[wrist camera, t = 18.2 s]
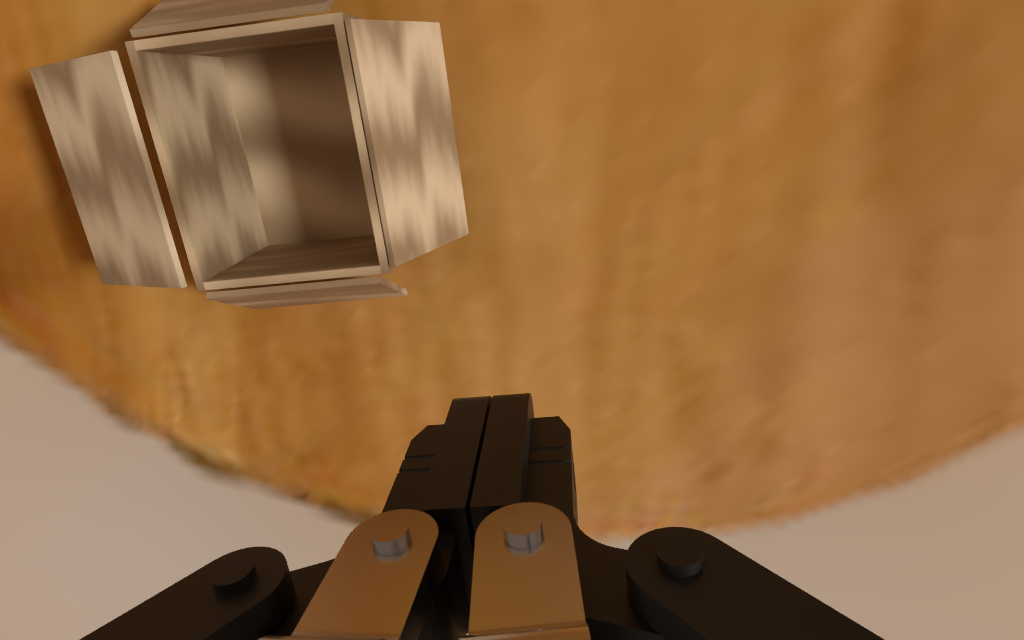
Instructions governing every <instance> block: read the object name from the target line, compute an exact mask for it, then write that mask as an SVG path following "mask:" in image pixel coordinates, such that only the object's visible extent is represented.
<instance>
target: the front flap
mask: <svg viewBox="0 0 1024 640" xmlns="http://www.w3.org/2000/svg"><path fill="white" fill-rule="evenodd" d="M29 70H30V73H31V76H32V79H33V82H34V85H35V88H36V91H37V94H38V97H39V99H40V102H41V105H42V108H43V111H44V114H45V117H46V120H47V123H48V126H49V129H50V131H51V134H52V137H53V140H54V143H55V146H56V149H57V152H58V155H59V158H60V161H61V164H62V166H63V169H64V172H65V175H66V178H67V181H68V184H69V187H70V190H71V193H72V196H73V198H74V201H75V204H76V207H77V210H78V213H79V216H80V219H81V222H82V225H83V228H84V231H85V233H86V236H87V239H88V242H89V245H90V248H91V251H92V254H93V257H94V260H95V263H96V265H97V268H98V271H99V274H100V277H101V280H102V283H103V284H114V285H130V286H147V287H164V288H184V287H187V284H186V281H185V278H184V274H183V271H182V267H181V264H180V261H179V257H178V254H177V251H176V247H175V244H174V241H173V237H172V234H171V231H170V227H169V224H168V220H167V217H166V214H165V210H164V207H163V204H162V200H161V197H160V194H159V190H158V187H157V183H156V180H155V177H154V173H153V170H152V167H151V163H150V160H149V157H148V153H147V150H146V146H145V143H144V140H143V136H142V133H141V130H140V126H139V123H138V120H137V116H136V113H135V110H134V106H133V103H132V99H131V96H130V93H129V89H128V86H127V83H126V79H125V76H124V73H123V69H122V66H121V62H120V59H119V56H118V52H117V51H106V52H102V53H98V54H93V55H89V56H84V57H80V58H76V59H71V60H67V61H62V62H58V63H54V64H49V65H45V66H40V67H36V68H32V69H29Z"/></svg>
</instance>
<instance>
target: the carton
mask: <svg viewBox="0 0 1024 640" xmlns="http://www.w3.org/2000/svg"><path fill="white" fill-rule="evenodd" d="M334 1H335V0H162V1H161V2H159V3H158V4H157V5H156V6H155V7H154V8H153V9H152V10H151V11H149V12H148V13H147V14H146V15H145V16H144V17H143V18H142V19H141V20H139V21H138V22H137V23H136V24H135V25H134V26H133V27H132V28H131V29H130V30H129V31H130V33H131V35H132V37H133V38H135V37H142V36H150V35H157V34H164V33H171V32H179V31H186V30H193V29H200V28H208V27H215V26H222V25H229V24H237V23H244V22H251V21H258V20H266V19H273V18H280V17H287V16H295V15H302V14H309V13H317V12H324V11H329V10H330V8H331V6H332V5H333V3H334ZM125 45H126V49H127V52H128V55H129V59H130V62H131V66H132V69H133V73H134V76H135V79H136V83H137V86H138V90H139V93H140V96H141V100H142V103H143V107H144V110H145V114H146V117H147V120H148V124H149V127H150V131H151V134H152V137H153V141H154V144H155V148H156V151H157V155H158V158H159V161H160V165H161V168H162V172H163V175H164V178H165V182H166V185H167V189H168V192H169V196H170V199H171V202H172V206H173V209H174V213H175V216H176V219H177V223H178V226H179V230H180V233H181V237H182V240H183V243H184V247H185V250H186V254H187V257H188V260H189V264H190V267H191V271H192V274H193V278H194V281H195V284H196V288H197V291H203V290H214V289H225V288H235V287H246V286H256V285H267V284H278V283H288V282H299V281H310V280H320V279H331V278H342V277H352V276H363V275H373V274H384V273H390V272H391V271H392V270H393V269H394V268H395V267H396V266H399V265H401V264H403V263H405V262H407V261H410V260H412V259H414V258H416V257H418V256H421V255H423V254H425V253H427V252H430V251H432V250H434V249H436V248H438V247H441V246H443V245H445V244H447V243H450V242H452V241H454V240H456V239H458V238H461V237H463V236H465V235H467V234H469V232H468V225H467V218H466V210H465V203H464V196H463V189H462V182H461V174H460V167H459V160H458V153H457V146H456V138H455V131H454V124H453V117H452V110H451V102H450V95H449V88H448V81H447V74H446V66H445V59H444V52H443V45H442V38H441V30H440V23H439V22H415V21H391V20H367V19H361V18H358V17H355V16H352V15H349V14H346V13H343V12H338V13H331V14H324V15H316V16H309V17H302V18H294V19H287V20H280V21H273V22H265V23H258V24H251V25H243V26H236V27H229V28H222V29H214V30H207V31H200V32H192V33H185V34H178V35H171V36H163V37H156V38H149V39H141V40H134V41H127V42H125ZM406 295H407V289H405V288H403V287H401V286H399V285H397V284H394V283H392V282H390V281H388V280H386V279H384V278H382V277H380V276H379V277H368V278H357V279H347V280H336V281H325V282H315V283H304V284H293V285H283V286H272V287H261V288H251V289H240V290H229V291H219V292H208V293H206V297H207V299H208V300H213V301H218V302H223V303H228V304H233V305H238V306H244V307H249V308H254V309H262V308H273V307H284V306H295V305H307V304H318V303H329V302H340V301H351V300H362V299H373V298H384V297H395V296H406Z"/></svg>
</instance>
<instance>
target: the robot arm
mask: <svg viewBox="0 0 1024 640" xmlns="http://www.w3.org/2000/svg"><path fill="white" fill-rule="evenodd" d="M466 633H468V635H466ZM80 640H884V639H882V638H881V637H879V636H877V635H876V634H874V633H873V632H871V631H869V630H868V629H866V628H864V627H863V626H861V625H859V624H858V623H856V622H854V621H853V620H851V619H849V618H848V617H846V616H844V615H843V614H841V613H839V612H838V611H836V610H834V609H833V608H831V607H829V606H828V605H826V604H824V603H823V602H821V601H820V600H818V599H816V598H814V597H813V596H811V595H810V594H808V593H806V592H805V591H803V590H801V589H800V588H798V587H796V586H795V585H793V584H791V583H790V582H788V581H786V580H785V579H783V578H781V577H780V576H778V575H777V574H775V573H773V572H772V571H770V570H768V569H767V568H765V567H763V566H762V565H760V564H758V563H757V562H755V561H753V560H752V559H750V558H748V557H746V556H745V555H743V554H742V553H740V552H738V551H737V550H735V549H733V548H732V547H730V546H729V545H727V544H725V543H723V542H722V541H720V540H719V539H717V538H715V537H713V536H711V535H709V534H707V533H705V532H702V531H699V530H695V529H691V528H684V527H666V528H660V529H655V530H653V531H650V532H647V533H645V534H643V535H641V536H640V537H639V538H637V539H636V540H635V541H634V542H633V543H632V544H631V545H630V547H629V549H628V550H624V549H619V548H614V547H610V546H607V545H604V544H601V543H598V542H597V541H595V540H593V539H591V538H590V537H588V536H587V535H585V534H584V533H583V532H582V531H581V530H580V529H579V527H578V514H577V495H576V484H575V474H574V463H573V453H572V442H571V432H570V429H569V427H568V426H567V425H566V424H565V423H564V422H563V421H562V419H561V418H560V417H559V416H556V417H542V418H534V412H533V403H532V397H531V394H530V393H525V394H511V395H497V396H493V397H491V396H485V397H471V398H458V399H453V401H452V403H451V406H450V409H449V412H448V415H447V418H446V421H445V424H442V425H428V426H427V427H425V428H424V429H423V430H422V431H421V432H420V433H419V434H418V435H417V436H416V437H414V438H413V439H412V440H411V442H410V445H409V447H408V450H407V452H406V455H405V460H403V462H402V464H401V467H400V469H399V473H398V474H397V477H396V479H395V482H394V484H393V486H392V489H391V491H390V494H389V496H388V499H387V501H386V504H385V506H384V508H383V511H382V513H380V514H378V515H375V516H373V517H371V518H369V519H367V520H365V521H364V522H362V523H361V524H359V525H358V526H357V527H356V528H355V529H354V530H353V531H352V532H351V533H350V534H349V536H348V537H347V539H346V540H345V542H344V544H343V546H342V548H341V549H340V551H339V553H338V554H337V556H336V558H335V559H332V560H329V561H326V562H323V563H319V564H315V565H312V566H308V567H305V568H301V569H298V570H294V571H290V572H289V569H288V565H287V561H286V559H285V557H284V555H283V554H282V553H281V552H279V551H278V550H276V549H273V548H270V547H250V548H245V549H240V550H237V551H234V552H231V553H229V554H226V555H224V556H222V557H220V558H218V559H216V560H214V561H212V562H211V563H209V564H207V565H205V566H204V567H202V568H200V569H199V570H197V571H195V572H194V573H192V574H190V575H189V576H187V577H185V578H183V579H182V580H180V581H178V582H177V583H175V584H173V585H172V586H170V587H168V588H167V589H165V590H163V591H161V592H160V593H158V594H156V595H155V596H153V597H151V598H150V599H148V600H146V601H144V602H143V603H141V604H139V605H138V606H136V607H134V608H133V609H131V610H129V611H128V612H126V613H124V614H123V615H121V616H119V617H118V618H116V619H114V620H113V621H111V622H109V623H107V624H105V625H104V626H102V627H100V628H99V629H97V630H96V631H94V632H92V633H90V634H89V635H87V636H85V637H83V638H82V639H80Z"/></svg>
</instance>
